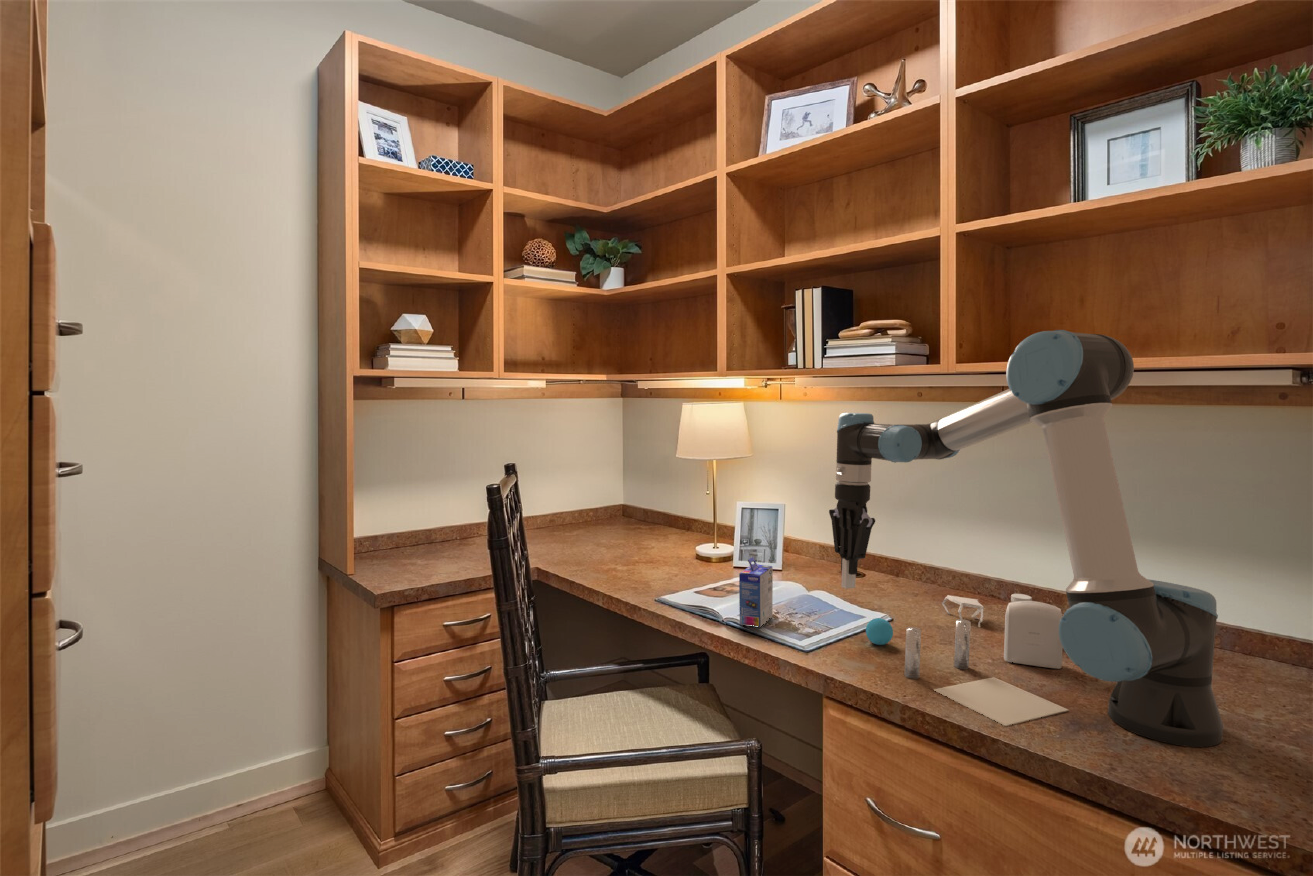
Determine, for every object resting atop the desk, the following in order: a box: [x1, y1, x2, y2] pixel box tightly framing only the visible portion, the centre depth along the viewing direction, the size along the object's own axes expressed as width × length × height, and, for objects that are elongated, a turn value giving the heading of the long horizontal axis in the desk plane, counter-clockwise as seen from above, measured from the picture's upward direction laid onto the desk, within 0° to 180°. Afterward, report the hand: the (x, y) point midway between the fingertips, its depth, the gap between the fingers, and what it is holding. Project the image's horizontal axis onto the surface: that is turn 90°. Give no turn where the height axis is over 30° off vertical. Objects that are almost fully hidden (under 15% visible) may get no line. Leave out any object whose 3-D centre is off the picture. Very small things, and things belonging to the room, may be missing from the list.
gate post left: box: [904, 626, 922, 680], centre depth 135 cm, size 3×3×9 cm
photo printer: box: [1003, 600, 1064, 670], centre depth 142 cm, size 10×4×12 cm, turn 66°
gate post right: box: [953, 618, 971, 670], centre depth 140 cm, size 3×3×9 cm
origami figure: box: [941, 594, 985, 628], centre depth 170 cm, size 12×8×5 cm
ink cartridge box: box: [738, 556, 774, 628], centre depth 166 cm, size 10×6×14 cm, turn 155°
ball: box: [865, 617, 894, 646], centre depth 152 cm, size 6×6×6 cm
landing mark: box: [933, 676, 1070, 727], centre depth 125 cm, size 15×15×1 cm
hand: (848, 587), depth 161 cm, fingers closed
